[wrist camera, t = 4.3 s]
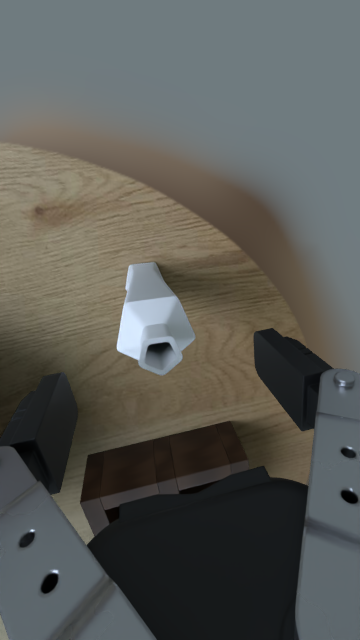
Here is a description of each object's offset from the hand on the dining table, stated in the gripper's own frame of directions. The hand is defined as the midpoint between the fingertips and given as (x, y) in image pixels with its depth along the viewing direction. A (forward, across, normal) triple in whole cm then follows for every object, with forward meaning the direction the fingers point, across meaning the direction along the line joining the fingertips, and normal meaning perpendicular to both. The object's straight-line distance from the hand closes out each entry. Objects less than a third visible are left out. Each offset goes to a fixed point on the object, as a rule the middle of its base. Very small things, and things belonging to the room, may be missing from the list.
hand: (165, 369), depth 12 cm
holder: (+17, +2, +25) cm, 30 cm away
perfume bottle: (+17, 0, 0) cm, 17 cm away
